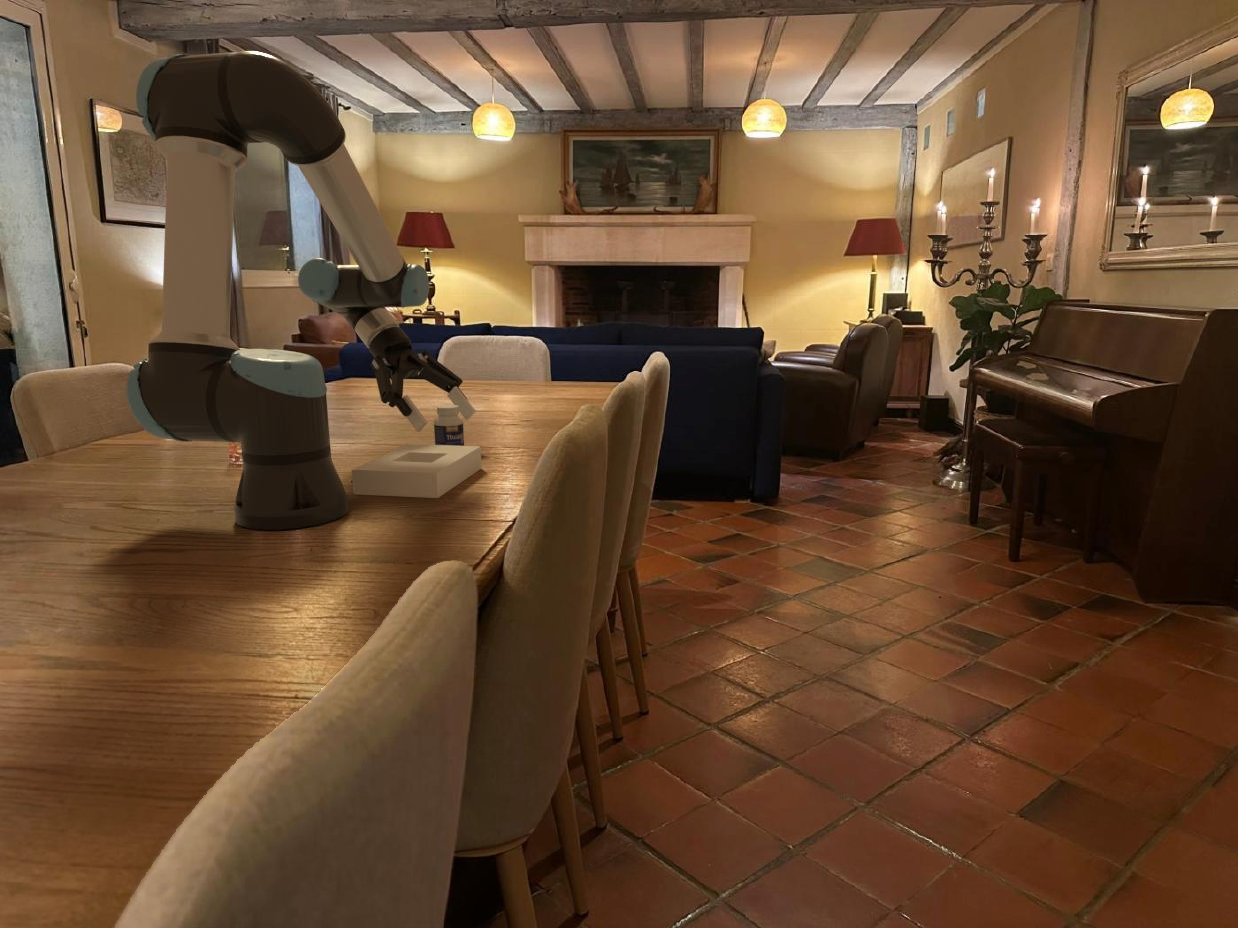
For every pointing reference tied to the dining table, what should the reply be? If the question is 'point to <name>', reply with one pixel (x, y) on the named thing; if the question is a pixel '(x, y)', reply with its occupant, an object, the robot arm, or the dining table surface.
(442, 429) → the pill bottle
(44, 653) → the dining table surface
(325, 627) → the dining table surface
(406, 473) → the socket block
